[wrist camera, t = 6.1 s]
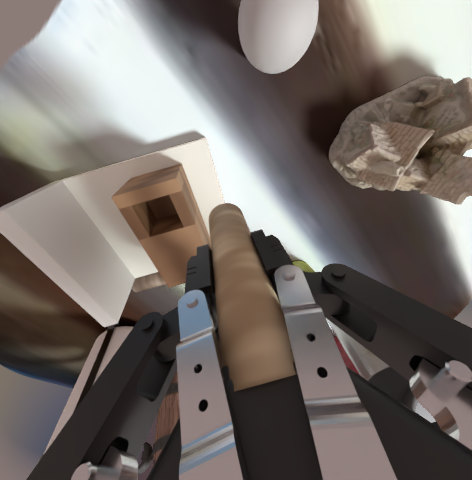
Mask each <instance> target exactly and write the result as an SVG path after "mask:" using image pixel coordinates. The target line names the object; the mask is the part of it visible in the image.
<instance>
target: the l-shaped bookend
mask: <svg viewBox="0 0 472 480" xmlns="http://www.w3.org/2000/svg"><path fill="white" fill-rule="evenodd" d="M181 163H182V166H183V168H184V171H185V173H186V176H187V179H188V181H189V184H190V186H191V189H192V192H193V194H194V197H195V200H196V202H197V205H198V207H199V210H200V213H201V215H202V218H203V220H204V223H205V226H206V228H207V231H208V234H209V236H210V230H209V215H210V212H211V211H212V210H213V209H214V208H215V207H216V206H218V205H220V204H224V203H225V201H224V197H223V194H222V191H221V187H220V184H219V180H218V177H217V174H216V170H215V167H214V163H213V160H212V157H211V153H210V150H209V146H208V143H207V140H206V137H204V138H201V139H197V140H194V141H190V142H187V143H183V144H180V145H177V146H173V147H170V148H166V149H163V150H160V151H156V152H153V153H149V154H146V155H143V156H139V157H136V158H132V159H129V160H125V161H122V162H119V163H115V164H112V165H108V166H105V167H102V168H98V169H95V170H91V171H88V172H85V173H81V174H78V175H74V176H71V177H67V178H64V179H61V180H57V181H54V182H52V183H50V184H48V185H46V186H44V187H41V188H39V189H37V190H35V191H33V192H31V193H29V194H27V195H25V196H23V197H21V198H19V199H17V200H14V201H12V202H10V203H8V204H6V205H4V206H2V207H0V233H1V234H3V235H4V236H5V237H6V238H7V239H8V240H9V241H10V242H11V243H12V244H13V245H15V246H16V247H17V248H18V249H19V250H20V251H21V252H22V253H23V254H24V255H25V256H27V257H28V258H29V259H30V260H31V261H32V262H33V263H34V264H35V265H36V266H37V267H39V268H40V269H41V270H42V271H43V272H44V273H45V274H46V275H47V276H48V277H50V278H51V279H52V280H53V281H54V282H55V283H56V284H57V285H58V286H59V287H60V288H62V289H63V290H64V291H65V292H66V293H67V294H68V295H69V296H70V297H71V298H72V299H74V300H75V301H76V302H77V303H78V304H79V305H80V306H81V307H82V308H83V309H85V310H86V311H87V312H88V313H89V314H90V315H91V316H92V317H93V318H94V319H95V320H97V321H98V322H99V323H100V324H101V325H102V326H103V327H107V326H111V325H114V324H118V322H119V319H120V317H121V314H122V311H123V309H124V306H125V304H126V301H127V299H128V296H129V293H130V291H131V288H132V286H133V283H134V281H135V278H139V277H142V276H146V275H149V274H152V273H156V272H158V270H157V269H156V267H155V265H154V264H153V262H152V261H151V259H150V258H149V256H148V255H147V253H146V251H145V250H144V248H143V247H142V245H141V244H140V242H139V240H138V239H137V237H136V236H135V234H134V233H133V231H132V229H131V228H130V226H129V225H128V223H127V222H126V220H125V218H124V217H123V215H122V214H121V212H120V211H119V209H118V207H117V206H116V204H115V203H114V201H113V200H112V198H111V197H112V196H113V195H114V194H115V193H116V192H117V191H118V190H119V189H120V188H121V187H122V186H123V185H124V184H125V183H126V182H127V181H128V180H129V179H130V178H133V177H136V176H140V175H143V174H147V173H150V172H153V171H157V170H160V169H164V168H167V167H171V166H174V165H177V164H181Z"/></svg>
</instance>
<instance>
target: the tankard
mask: <svg viewBox="0 0 472 480" xmlns="http://www.w3.org/2000/svg"><path fill="white" fill-rule="evenodd" d="M179 417H180V408H179V391H178V373H177V370H176V373H175V375H174V377H173V379H172V381H171V384H170V386H169V388H168V390H167V392H166V395H165V397H164V399H163V401H162V404H161V406H160V408H159V410H158V418H157V427H156V436H155V443H154V445H153V450H152V447H151V445H150V444H148V443H147V442H145V441H144V442H145V443H144V451H143V453H142V463H141V464H140V465H139V466H138V474H141V473H143V472H144V471H145V470H146V469H147V467H148V466H149V464H150V463H151V460H152V459H153V457H154V464H155V462H156V460H157V459H158V457H159V455H160V453H161V451H162V449H163V447H164V445H165V443H166V442H167V440H168V438H169V436H170V434H171V432H172V430H173V428H174V426H175V425H176V423H177V421H178V419H179ZM146 438H147V437H146ZM145 440H146V439H145ZM140 451H141V450H140ZM139 453H140V452H139ZM138 456H139V455H138ZM137 459H138V457H137ZM137 459H136V460H137Z"/></svg>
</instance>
